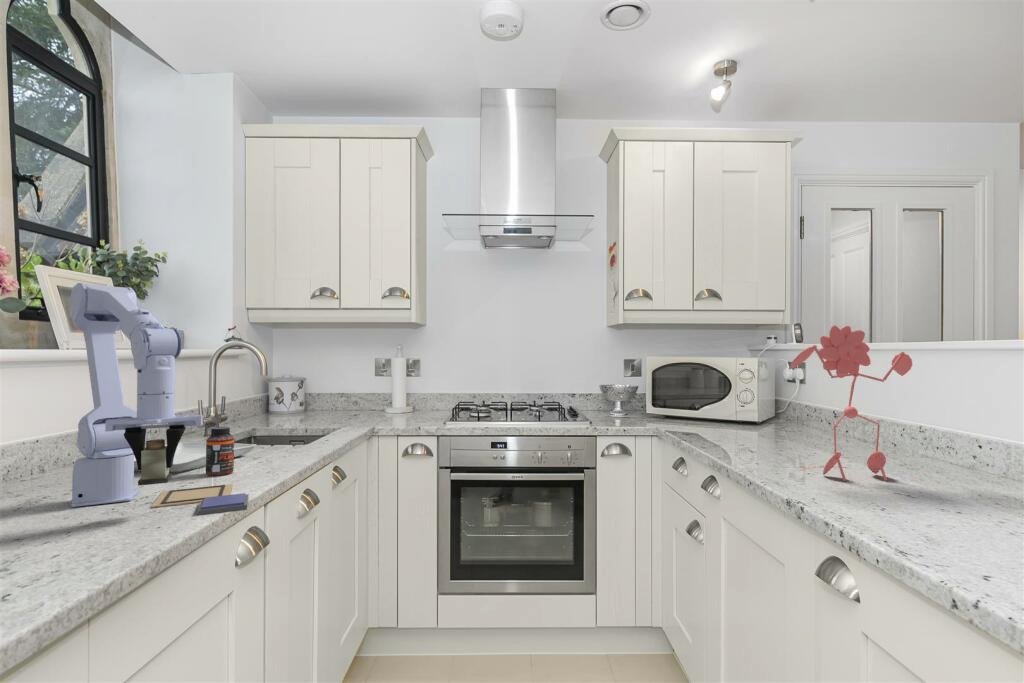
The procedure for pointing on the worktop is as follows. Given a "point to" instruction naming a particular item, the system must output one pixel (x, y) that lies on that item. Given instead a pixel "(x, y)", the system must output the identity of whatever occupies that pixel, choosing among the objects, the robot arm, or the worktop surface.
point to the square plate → (196, 455)
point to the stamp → (154, 463)
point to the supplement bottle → (219, 452)
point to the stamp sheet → (190, 495)
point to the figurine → (845, 357)
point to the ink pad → (223, 503)
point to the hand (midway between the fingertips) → (155, 467)
